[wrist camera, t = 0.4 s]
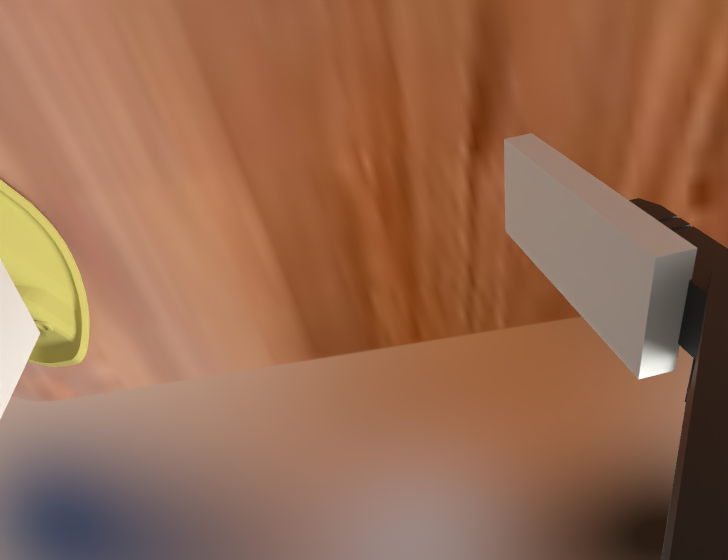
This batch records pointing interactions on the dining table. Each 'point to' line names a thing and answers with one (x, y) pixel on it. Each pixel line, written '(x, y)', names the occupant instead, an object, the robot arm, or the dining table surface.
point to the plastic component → (44, 281)
